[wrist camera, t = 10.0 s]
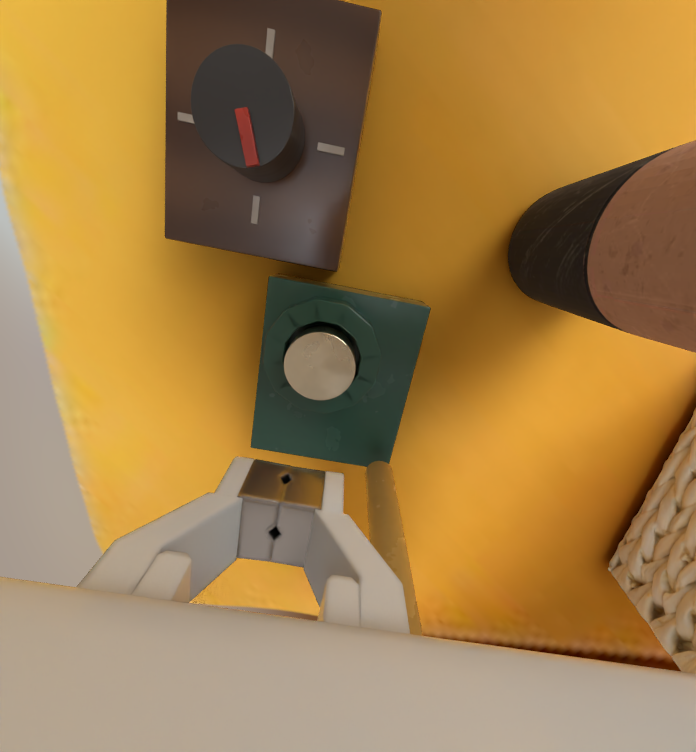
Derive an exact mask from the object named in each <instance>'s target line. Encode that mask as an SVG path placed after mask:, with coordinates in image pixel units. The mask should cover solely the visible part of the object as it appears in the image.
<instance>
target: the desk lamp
mask: <svg viewBox="0 0 696 752" xmlns="http://www.w3.org/2000/svg"><path fill="white" fill-rule="evenodd" d="M365 475H366V491H367V507H368V523H369V539H370V543H371V544H372V545H373V547H374V548H375V549H376V551H377V552H378V553H379V554H380V556H381V557H382V558H383V560H384V561H385V562H386V563H387V565H388V566H389V567H390V568H391V570H392V571H393V572H394V574H395V575H396V576H397V577H398V579H399V580H400V581H401V583H402V584H403V590H404V597H405V603H406V610H407V616H408V623H409V629H410V634H413V635H420V636H423V634H422V628H421V623H420V617H419V612H418V607H417V601H416V596H415V590H414V585H413V579H412V574H411V569H410V563H409V558H408V552H407V547H406V542H405V536H404V531H403V525H402V520H401V515H400V509H399V504H398V498H397V493H396V488H395V482H394V477H393V471H392V468H391V466H390V465H389V464H388V463H386V462H384V461H375V462H372V463H371V464H369V465H368V467H367V468H366V472H365Z"/></svg>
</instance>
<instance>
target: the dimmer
mask: <svg viewBox="0 0 696 752" xmlns="http://www.w3.org/2000/svg"><path fill="white" fill-rule="evenodd" d="M381 14H382V12H381V10H377V9H373V8H369V7H364V6H360V5H356V4H352V3H348V2H344V1H339V0H167V22H166V158H165V238H167V239H172V240H177V241H182V242H187V243H192V244H197V245H202V246H208V247H213V248H218V249H223V250H228V251H233V252H238V253H243V254H248V255H253V256H258V257H264V258H269V259H274V260H279V261H284V262H289V263H294V264H299V265H304V266H309V267H314V268H320V269H325V270H330V271H335V272H337V271H338V269H339V267H340V261H341V255H342V249H343V243H344V238H345V232H346V226H347V220H348V214H349V209H350V203H351V197H352V191H353V185H354V179H355V174H356V168H357V162H358V156H359V150H360V145H361V139H362V133H363V127H364V121H365V115H366V110H367V104H368V98H369V92H370V86H371V80H372V75H373V69H374V63H375V57H376V51H377V45H378V38H379V30H380V22H381ZM229 44H245V45H249V46H253V47H255V48H258V49H259V50H261V51H263V52H265V53H266V54H267V55H268V56H270V57H271V58H272V59H273V60H274V61H275V62H276V63H277V64H278V66H279V67H280V68H281V70H282V71H283V73H284V74H285V76H286V78H287V80H288V82H289V85H290V87H291V90H292V93H293V95H294V98H295V101H296V103H297V106H298V109H299V111H300V114H301V117H302V120H303V124H304V131H305V142H304V148H303V152H302V155H301V158H300V160H299V162H298V164H297V165H296V167H295V168H294V169H293V170H292V171H291V172H290V173H289V174H288V175H287V176H285V177H284V178H282V179H280V180H277V181H274V182H266V183H265V182H257V181H254V180H251V179H249V178H247V177H245V176H243V175H242V174H240V173H239V172H238V171H236V170H235V169H233V168H232V167H230V166H229V165H227V164H226V163H224V162H223V161H222V160H220V159H219V158H217V157H216V156H215V155H214V154H213V153H212V152H211V151H210V150H209V149H208V148H207V147H206V145H205V144H204V142H203V141H202V139H201V138H200V136H199V134H198V132H197V129H196V127H195V124H194V121H193V117H192V111H191V89H192V84H193V80H194V77H195V74H196V72H197V70H198V68H199V66H200V65H201V63H202V62H203V61H204V59H205V58H206V57H207V56H208V55H209V54H210V53H212V52H213V51H215V50H216V49H218V48H220V47H222V46H226V45H229Z"/></svg>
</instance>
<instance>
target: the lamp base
mask: <svg viewBox="0 0 696 752" xmlns="http://www.w3.org/2000/svg"><path fill="white" fill-rule="evenodd" d="M430 309H431V308H430V307H429V306H428V305H426V304H425V303H424V302H422V301H418V300H413V299H408V298H402V297H397V296H392V295H387V294H382V293H377V292H372V291H366V290H361V289H356V288H351V287H346V286H341V285H336V284H330V283H325V282H320V281H315V280H310V279H305V278H300V277H294V276H289V275H284V274H279V273H278V274H275V275H272V276H269V279H268V289H267V298H266V308H265V317H264V326H263V336H262V345H261V355H260V364H259V373H258V383H257V392H256V402H255V411H254V420H253V430H252V439H251V448H257V449H263V450H269V451H275V452H281V453H287V454H293V455H299V456H305V457H311V458H317V459H323V460H329V461H335V462H341V463H347V464H353V465H359V466H365V467H368V465H369V464H371V463H372V462H375V461H384V462H386V463H388V464H389V462H390V458H391V455H392V451H393V447H394V443H395V440H396V436H397V432H398V429H399V425H400V421H401V417H402V414H403V410H404V406H405V402H406V399H407V395H408V391H409V388H410V384H411V380H412V376H413V373H414V369H415V365H416V361H417V358H418V354H419V350H420V346H421V343H422V339H423V335H424V332H425V328H426V324H427V320H428V317H429V313H430ZM314 326H328V327H332V328H335V329H337V330H339V331H340V332H342V333H343V334H344V335H345V336H346V337H347V338H348V339H349V340H350V342H351V344H352V346H353V348H354V351H355V361H356V370H355V376H354V379H353V381H352V383H351V385H350V386H349V387H348V389H347V390H346V391H345V392H343V393H342V394H341V395H339V396H337V397H335V398H332V399H328V400H313V399H309V398H307V397H304V396H302V395H301V394H299V393H298V392H297V391H295V390H294V389H293V388H292V386H291V385H290V384H289V382H288V380H287V378H286V375H285V372H284V358H285V355H286V352H287V350H288V348H289V347H290V345H291V343H292V342H293V340H294V339H295V338H296V337H297V335H298V334H300V333H301V332H302V331H304V330H306V329H308V328H310V327H314Z"/></svg>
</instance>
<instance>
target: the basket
mask: <svg viewBox="0 0 696 752" xmlns="http://www.w3.org/2000/svg"><path fill="white" fill-rule="evenodd" d="M608 571H611V573H612V575H613V576H614V578H615V579H616V580H617V581H618V583H619V585H620V587H621V588H622V589H623V590H624V592H625V593H626V594H627V596H628V598H629V599H630V601H631V602H632V603H633V604H634V605H635V606H636V609H637V611H638V612H639V614H640V615H641V616H642V617H643V619H644V620H645V621H646V622H647V623H648V624H649V626H650V628H651V629H652V631H653V632H654V634H655V636H656V638H657V639H658V640H659V642H660V643H661V645H662V646H663V647H664V649H665V650H666V651H667V652H668V653H669V654H670V655H671V656H672V659H673V660H674V662H675V663H676V664H677V666H678V667H679V668H680V670H681V671H682V672H686V673H693V674H696V408H695V410H694V412H693V416H692V418H691V420H690V422H689V424H688V425H687V427H686V429H685V431H684V432H683V433H681V435H680V437H679V441H678V443H677V444H676V446H675V447H674V449H673V452H672V453H671V454H670V456H669V458H668V460H666V461H665V463H664V465H663V470H662V471H661V473H660V475H659V476H658V478H657V480H656V482H655V484H654V485H653V487H652V489H651V490H649V491H648V493H647V495H646V499H645V501H644V503H643V505H642V507H641V508H640V510H639V512H638V514H637V515H636V516H635V517H634V518H633V520H632V522H631V526H630V528H629V529H628V531H627V532H626V534H625V536H624V538H623V540H622V541H621V542H620V543H619V545H618V549H617V551H616V552H615V554H614V556H613V557H612V559H611V561H610V562H609V567H608Z"/></svg>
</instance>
